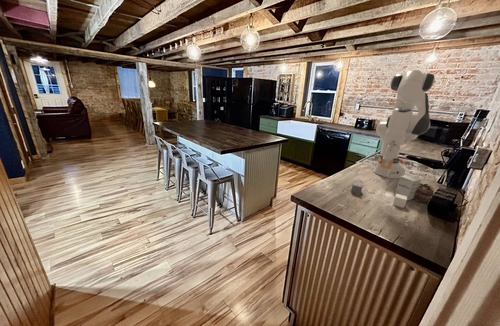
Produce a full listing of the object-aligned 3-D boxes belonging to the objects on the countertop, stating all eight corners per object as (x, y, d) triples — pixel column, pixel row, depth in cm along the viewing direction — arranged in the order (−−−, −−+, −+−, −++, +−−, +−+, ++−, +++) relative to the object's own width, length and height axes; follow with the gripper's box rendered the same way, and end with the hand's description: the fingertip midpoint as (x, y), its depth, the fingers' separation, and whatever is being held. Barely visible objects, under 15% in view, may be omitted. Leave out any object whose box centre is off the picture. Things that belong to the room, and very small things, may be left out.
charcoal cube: (361, 191, 125) (363, 184, 123) (359, 194, 121) (361, 187, 119) (352, 189, 128) (354, 182, 126) (350, 192, 124) (352, 184, 122)
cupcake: (435, 203, 115) (441, 187, 112) (421, 204, 113) (427, 188, 110) (418, 195, 124) (424, 180, 121) (406, 196, 122) (411, 181, 119)
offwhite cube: (404, 204, 113) (406, 196, 111) (403, 208, 109) (406, 199, 107) (393, 201, 116) (396, 193, 114) (392, 204, 112) (395, 196, 110)
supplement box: (393, 194, 123) (400, 175, 119) (402, 193, 126) (408, 174, 121) (406, 200, 116) (413, 181, 112) (414, 198, 119) (421, 179, 115)
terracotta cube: (391, 166, 112) (393, 158, 110) (390, 169, 108) (393, 160, 107) (380, 164, 115) (383, 156, 113) (379, 167, 111) (382, 158, 109)
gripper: (400, 144, 97) (392, 170, 101) (401, 137, 112) (394, 161, 117) (385, 141, 100) (377, 167, 105) (388, 135, 116) (381, 158, 120)
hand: (386, 164), depth 111 cm, fingers closed on terracotta cube, 5 cm apart
